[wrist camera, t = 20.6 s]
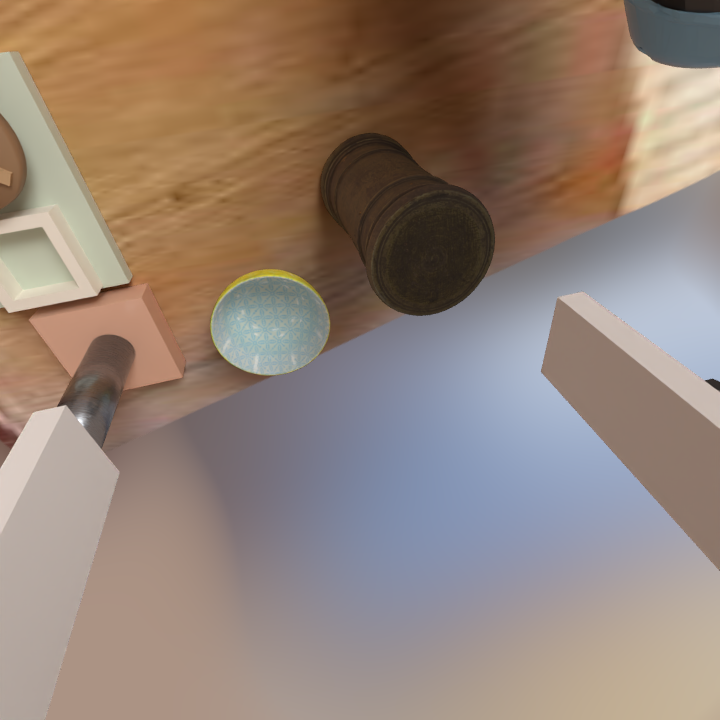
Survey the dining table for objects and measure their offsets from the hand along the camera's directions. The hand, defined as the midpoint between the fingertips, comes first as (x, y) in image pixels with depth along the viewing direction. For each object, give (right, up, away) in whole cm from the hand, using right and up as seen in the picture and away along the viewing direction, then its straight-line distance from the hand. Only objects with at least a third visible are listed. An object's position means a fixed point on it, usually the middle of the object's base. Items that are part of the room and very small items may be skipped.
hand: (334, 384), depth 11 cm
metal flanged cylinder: (-24, +2, +29) cm, 38 cm away
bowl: (-9, +7, +33) cm, 35 cm away
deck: (-28, +14, +22) cm, 39 cm away
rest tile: (-25, +3, +32) cm, 40 cm away
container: (+1, +18, +28) cm, 33 cm away
